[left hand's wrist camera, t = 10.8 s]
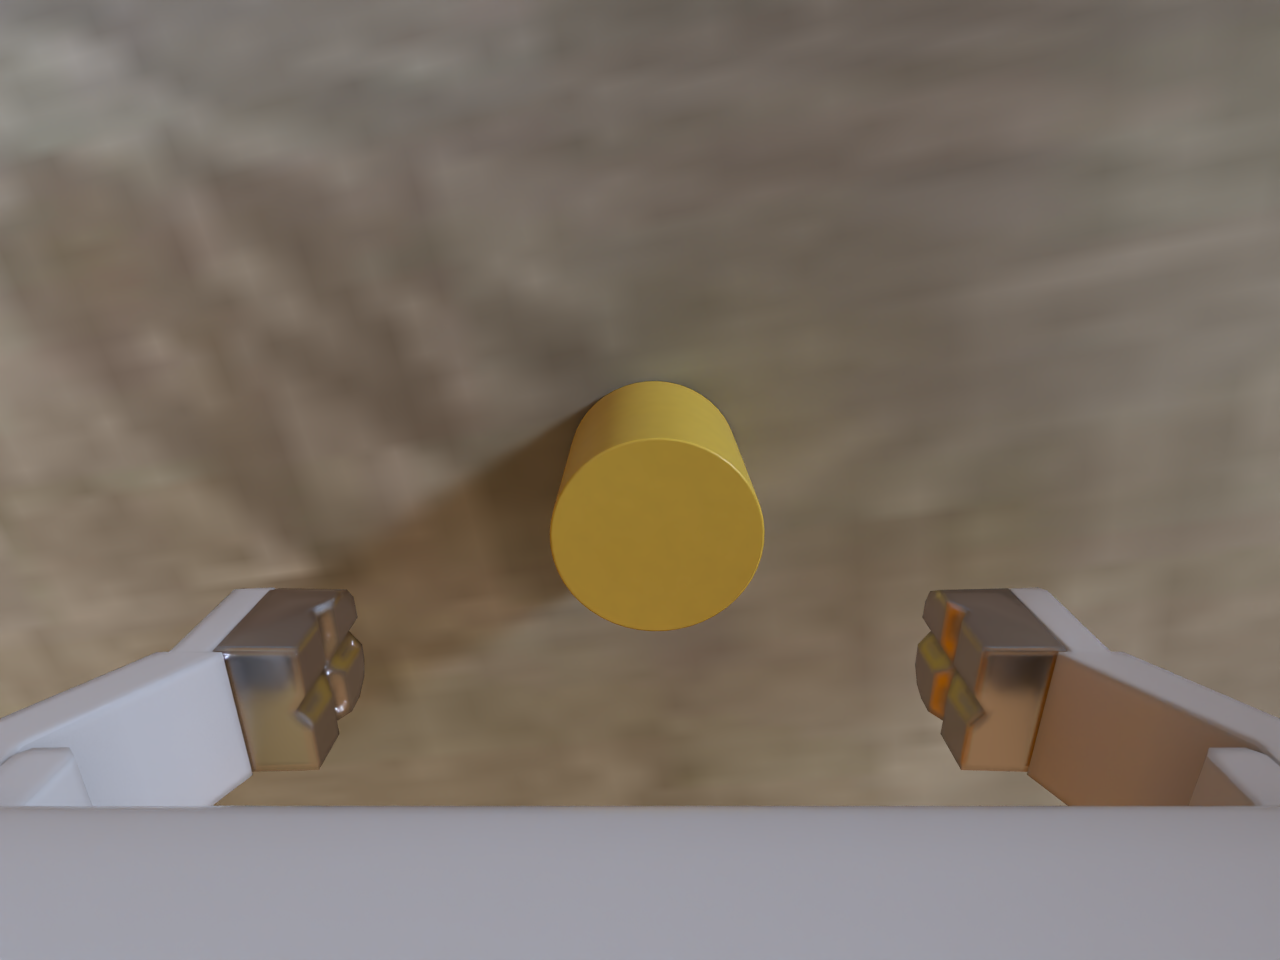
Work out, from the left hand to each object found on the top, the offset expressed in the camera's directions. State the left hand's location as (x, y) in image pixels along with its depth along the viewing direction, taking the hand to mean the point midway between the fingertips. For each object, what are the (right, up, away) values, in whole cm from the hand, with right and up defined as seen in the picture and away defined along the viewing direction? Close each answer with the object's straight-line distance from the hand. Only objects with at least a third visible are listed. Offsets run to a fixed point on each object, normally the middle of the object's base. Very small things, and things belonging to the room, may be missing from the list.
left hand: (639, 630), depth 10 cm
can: (0, +3, +7) cm, 7 cm away
